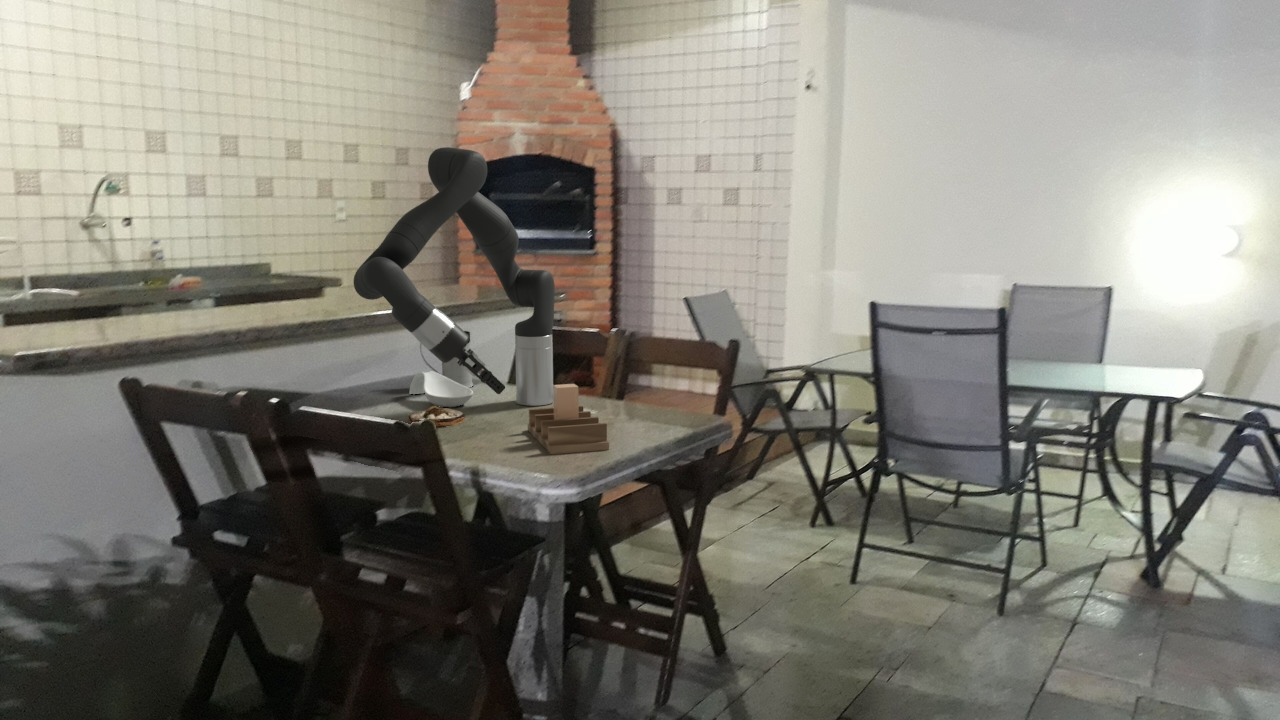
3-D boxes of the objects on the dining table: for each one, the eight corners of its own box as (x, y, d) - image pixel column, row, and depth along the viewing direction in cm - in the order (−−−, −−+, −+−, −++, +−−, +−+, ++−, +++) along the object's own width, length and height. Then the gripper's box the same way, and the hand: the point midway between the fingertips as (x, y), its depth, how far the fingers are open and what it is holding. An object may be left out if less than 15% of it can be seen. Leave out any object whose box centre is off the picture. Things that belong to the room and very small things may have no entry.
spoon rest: (482, 406, 232) (481, 378, 231) (439, 413, 225) (438, 383, 224) (436, 392, 250) (435, 366, 249) (395, 398, 243) (394, 370, 242)
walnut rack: (527, 430, 206) (527, 407, 206) (580, 426, 210) (580, 404, 210) (550, 454, 186) (550, 429, 185) (609, 449, 190) (608, 425, 189)
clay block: (553, 431, 199) (553, 385, 197) (574, 429, 200) (574, 383, 199) (557, 435, 195) (557, 387, 194) (578, 433, 197) (578, 386, 195)
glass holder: (470, 389, 253) (469, 334, 251) (418, 389, 253) (416, 334, 251) (476, 383, 262) (474, 330, 260) (424, 383, 262) (423, 330, 259)
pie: (458, 414, 225) (458, 397, 224) (478, 426, 212) (477, 408, 211) (396, 420, 218) (396, 402, 217) (412, 433, 205) (412, 415, 204)
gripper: (457, 325, 182) (517, 379, 187) (447, 316, 195) (504, 367, 201) (431, 354, 181) (492, 407, 187) (422, 343, 194) (480, 393, 200)
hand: (498, 386), depth 194 cm, fingers open, 8 cm apart
